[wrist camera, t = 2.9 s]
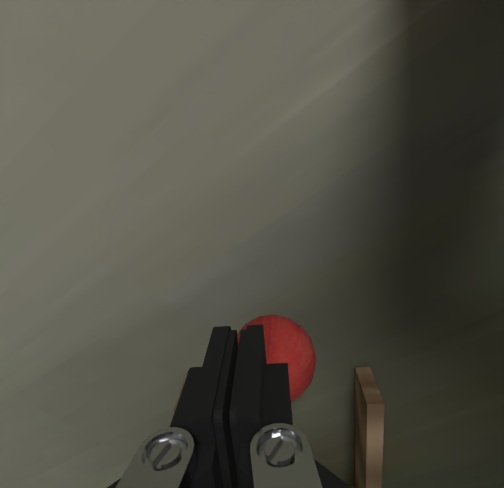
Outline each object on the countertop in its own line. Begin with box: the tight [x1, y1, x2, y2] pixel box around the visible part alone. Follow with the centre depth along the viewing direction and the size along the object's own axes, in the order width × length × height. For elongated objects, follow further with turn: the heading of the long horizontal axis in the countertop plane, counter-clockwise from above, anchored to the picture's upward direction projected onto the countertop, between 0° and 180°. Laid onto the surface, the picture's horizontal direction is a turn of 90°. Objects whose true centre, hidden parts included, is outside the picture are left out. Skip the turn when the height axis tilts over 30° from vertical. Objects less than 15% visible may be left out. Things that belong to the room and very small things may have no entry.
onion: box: [237, 315, 316, 402], centre depth 25 cm, size 6×6×8 cm
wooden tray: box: [174, 367, 385, 488], centre depth 30 cm, size 15×15×4 cm
